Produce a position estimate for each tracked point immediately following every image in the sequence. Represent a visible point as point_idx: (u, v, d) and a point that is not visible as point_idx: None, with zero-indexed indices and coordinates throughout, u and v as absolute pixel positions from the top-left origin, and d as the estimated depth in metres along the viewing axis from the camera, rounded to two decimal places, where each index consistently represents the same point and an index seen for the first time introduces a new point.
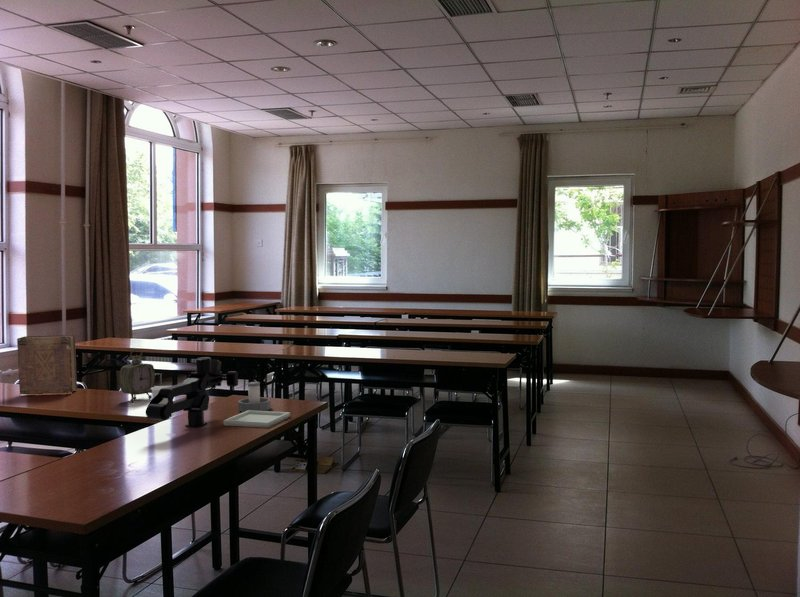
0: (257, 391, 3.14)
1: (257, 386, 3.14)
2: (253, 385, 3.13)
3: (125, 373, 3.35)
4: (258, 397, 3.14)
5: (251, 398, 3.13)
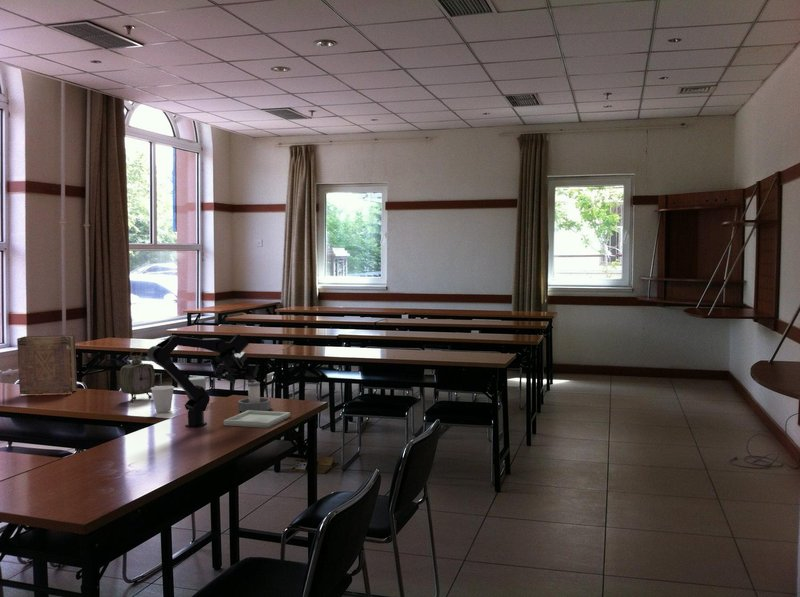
0: (257, 391, 3.14)
1: (257, 386, 3.14)
2: (253, 385, 3.13)
3: (125, 373, 3.35)
4: (258, 397, 3.14)
5: (251, 398, 3.13)
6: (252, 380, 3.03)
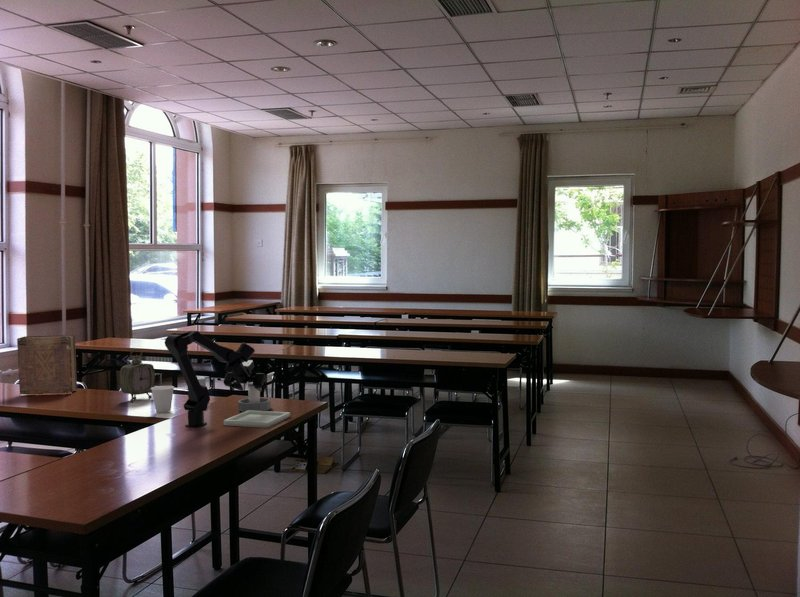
0: (257, 391, 3.14)
1: None
2: None
3: (125, 373, 3.35)
4: (258, 397, 3.14)
5: (251, 398, 3.13)
6: (260, 388, 3.09)
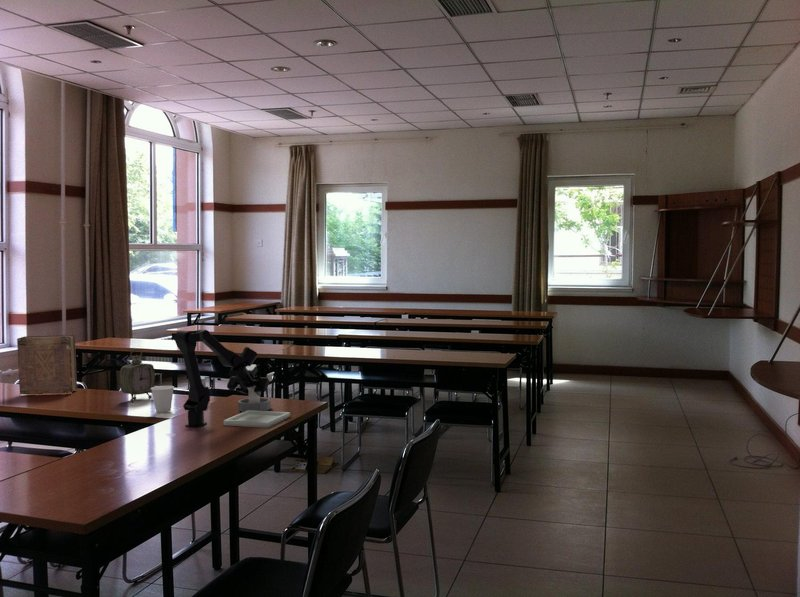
0: None
1: None
2: None
3: (125, 373, 3.35)
4: (258, 397, 3.14)
5: (251, 398, 3.13)
6: (259, 392, 3.13)
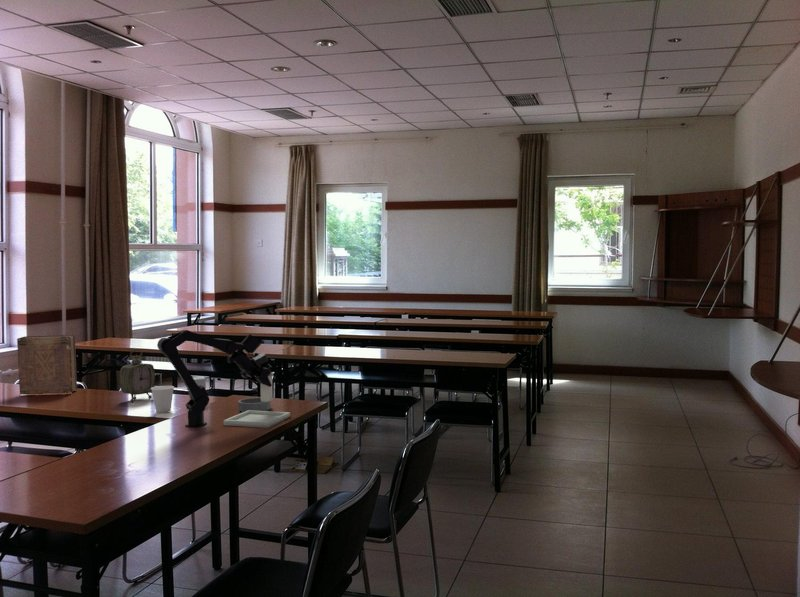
0: None
1: None
2: None
3: (125, 373, 3.35)
4: (268, 388, 3.00)
5: (261, 388, 3.01)
6: (266, 383, 2.98)
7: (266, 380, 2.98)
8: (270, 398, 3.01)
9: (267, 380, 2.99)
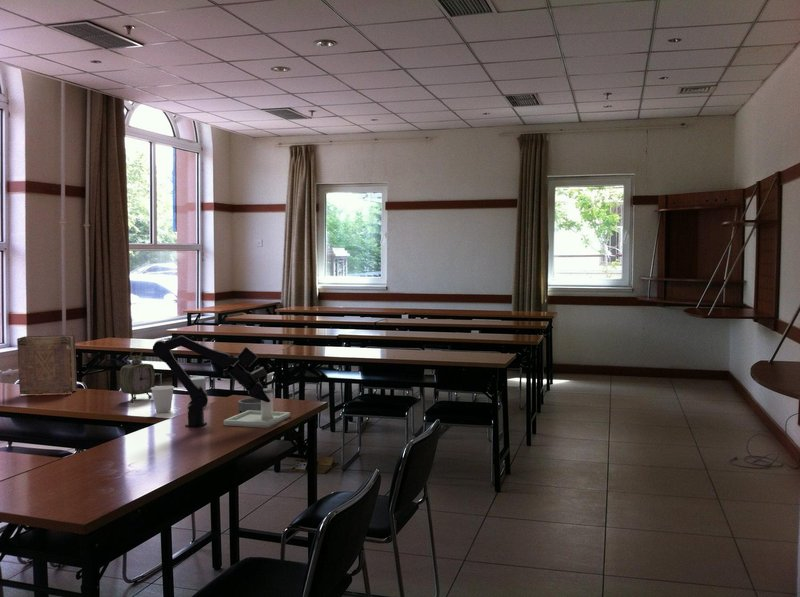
0: None
1: (265, 393, 2.91)
2: None
3: (125, 373, 3.35)
4: (266, 405, 2.91)
5: (261, 405, 2.93)
6: (263, 398, 2.88)
7: (263, 395, 2.88)
8: (269, 416, 2.92)
9: (264, 395, 2.88)
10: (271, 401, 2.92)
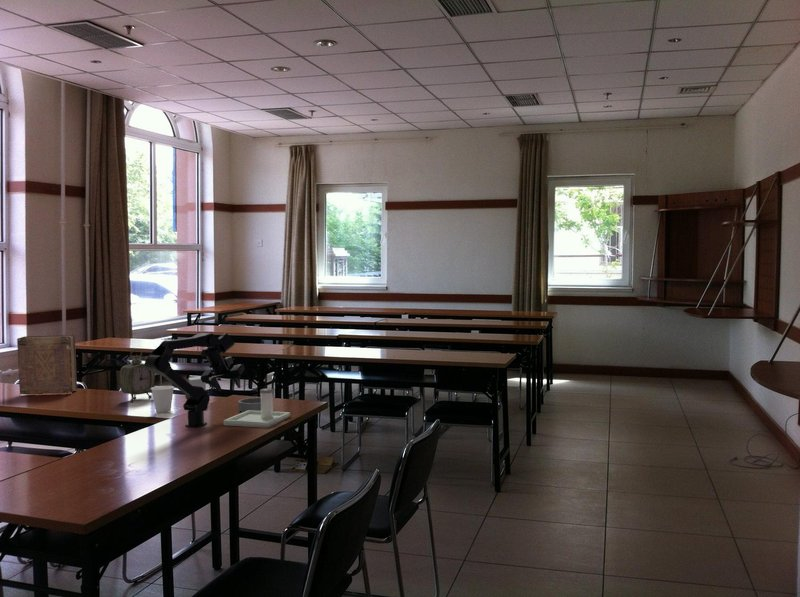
0: (264, 399, 2.91)
1: (264, 393, 2.91)
2: (261, 392, 2.92)
3: (125, 373, 3.35)
4: (266, 405, 2.91)
5: None
6: (238, 382, 2.96)
7: (238, 379, 2.97)
8: (269, 416, 2.92)
9: (239, 380, 2.97)
10: (271, 401, 2.92)
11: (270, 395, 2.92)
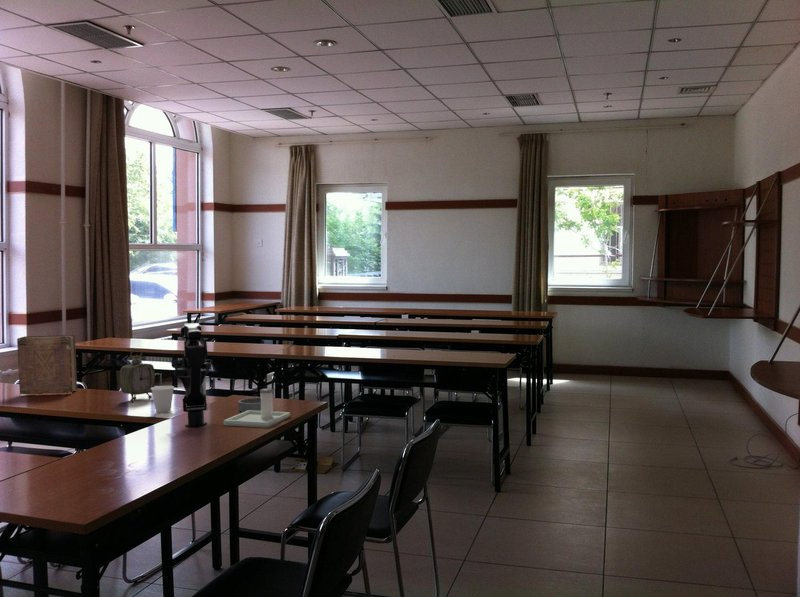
0: (264, 399, 2.91)
1: (264, 393, 2.91)
2: (261, 392, 2.92)
3: (125, 373, 3.35)
4: (266, 405, 2.91)
5: None
6: None
7: None
8: (269, 416, 2.92)
9: None
10: (271, 401, 2.92)
11: (270, 395, 2.92)
